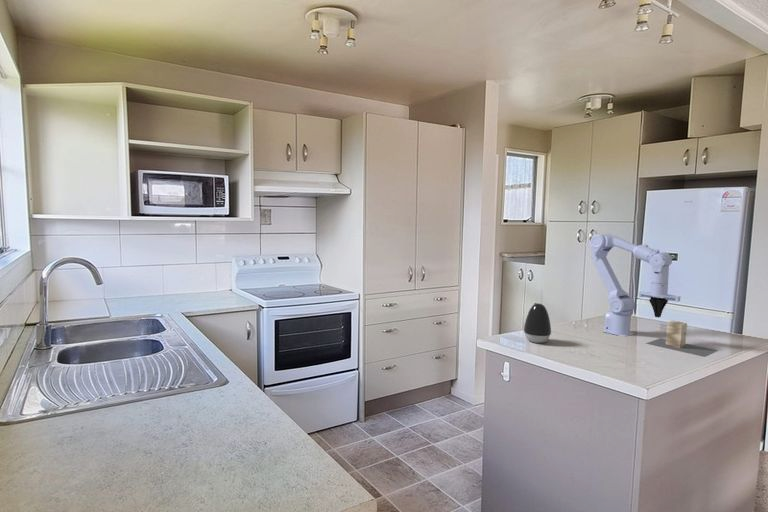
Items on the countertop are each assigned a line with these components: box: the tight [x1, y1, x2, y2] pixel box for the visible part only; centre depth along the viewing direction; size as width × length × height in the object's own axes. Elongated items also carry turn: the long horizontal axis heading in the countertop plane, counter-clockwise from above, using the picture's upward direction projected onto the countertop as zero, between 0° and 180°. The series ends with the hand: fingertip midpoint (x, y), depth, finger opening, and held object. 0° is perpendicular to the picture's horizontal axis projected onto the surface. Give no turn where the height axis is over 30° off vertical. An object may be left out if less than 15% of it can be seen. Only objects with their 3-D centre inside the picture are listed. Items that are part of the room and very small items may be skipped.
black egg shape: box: [523, 302, 552, 344], centre depth 178 cm, size 10×10×15 cm
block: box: [665, 320, 688, 348], centre depth 174 cm, size 5×5×9 cm
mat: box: [645, 337, 719, 357], centre depth 173 cm, size 20×14×1 cm
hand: (657, 316), depth 179 cm, fingers closed
